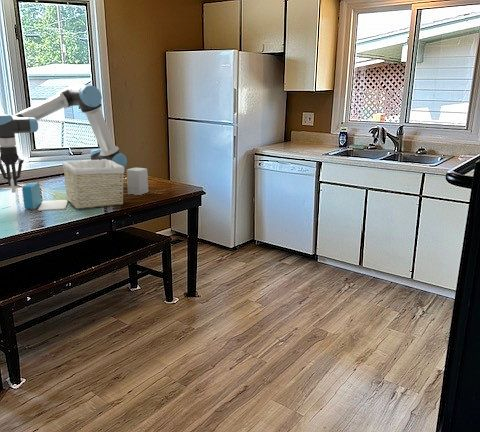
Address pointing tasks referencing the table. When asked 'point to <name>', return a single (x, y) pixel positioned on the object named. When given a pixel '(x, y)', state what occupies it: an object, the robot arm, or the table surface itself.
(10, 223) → the table surface
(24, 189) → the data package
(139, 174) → the supplement box
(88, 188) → the basket
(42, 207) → the white flat rectangular panel
